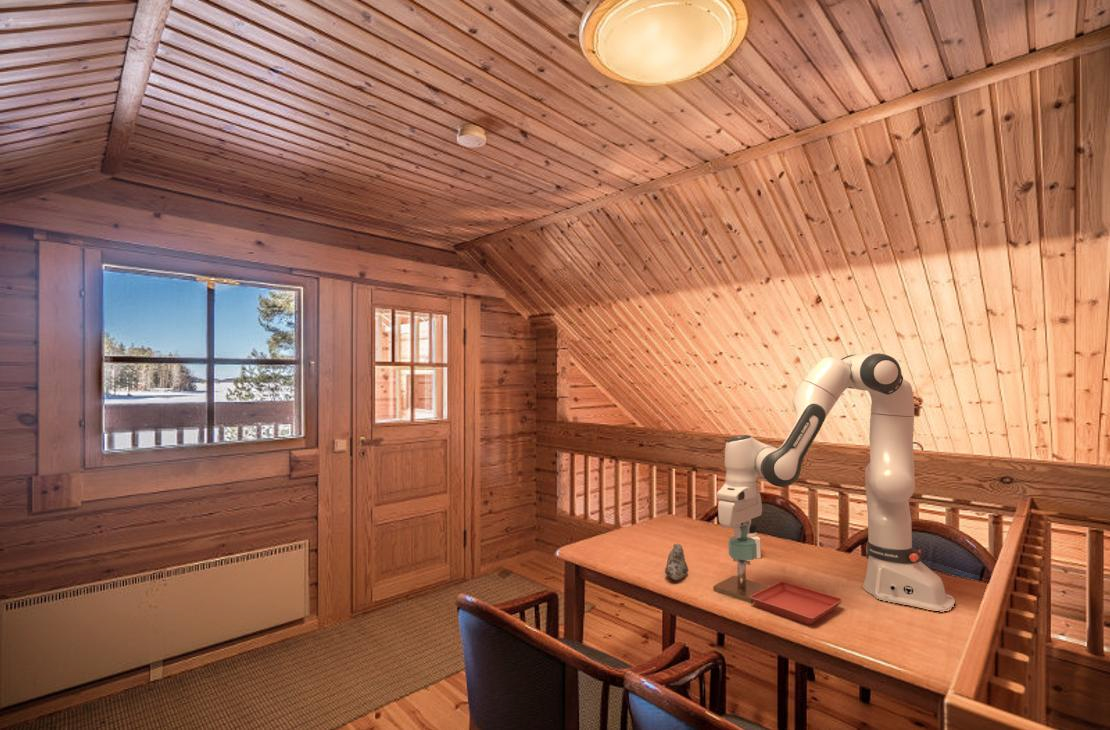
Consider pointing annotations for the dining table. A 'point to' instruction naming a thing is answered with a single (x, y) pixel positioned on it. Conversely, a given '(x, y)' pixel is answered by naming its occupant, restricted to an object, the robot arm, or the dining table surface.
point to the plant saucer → (795, 602)
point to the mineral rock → (676, 563)
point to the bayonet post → (739, 584)
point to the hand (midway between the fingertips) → (742, 535)
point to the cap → (742, 546)
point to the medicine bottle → (755, 538)
